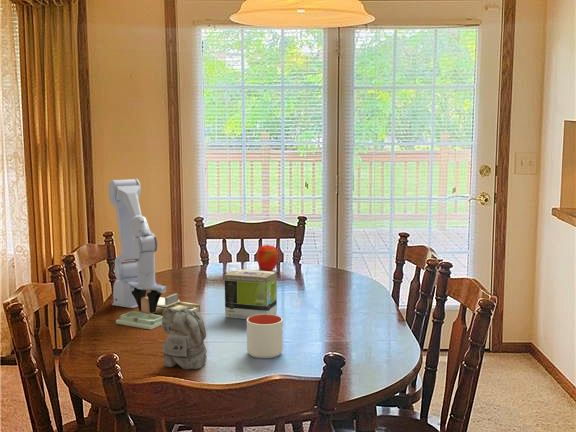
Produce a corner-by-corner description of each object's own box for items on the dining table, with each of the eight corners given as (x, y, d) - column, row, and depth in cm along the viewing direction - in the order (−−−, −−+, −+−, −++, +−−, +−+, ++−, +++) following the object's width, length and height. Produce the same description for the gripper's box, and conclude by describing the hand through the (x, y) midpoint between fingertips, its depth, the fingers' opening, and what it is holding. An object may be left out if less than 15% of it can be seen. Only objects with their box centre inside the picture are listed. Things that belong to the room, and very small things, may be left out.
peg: (138, 316, 228) (138, 298, 228) (146, 313, 232) (146, 296, 231) (148, 318, 227) (148, 300, 226) (156, 314, 230) (155, 297, 229)
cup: (246, 348, 198) (246, 314, 196) (281, 347, 198) (281, 313, 197) (247, 360, 188) (247, 325, 186) (284, 359, 189) (284, 324, 187)
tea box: (277, 313, 232) (277, 270, 230) (266, 322, 222) (266, 277, 220) (236, 309, 237) (235, 267, 234) (224, 317, 227) (223, 274, 225)
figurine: (174, 355, 191) (173, 303, 189) (211, 359, 188) (211, 306, 186) (157, 368, 182) (155, 313, 180) (196, 373, 179) (195, 317, 176)
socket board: (115, 323, 221) (115, 316, 220) (134, 316, 229) (134, 309, 228) (150, 329, 214) (150, 322, 214) (168, 321, 222) (168, 315, 222)
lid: (143, 303, 236) (142, 295, 236) (157, 298, 243) (157, 289, 243) (165, 307, 232) (165, 298, 231) (180, 301, 239) (179, 293, 238)
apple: (257, 273, 290) (257, 245, 288) (256, 269, 298) (255, 241, 297) (279, 273, 290) (279, 245, 289) (277, 268, 299) (277, 241, 298)
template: (142, 310, 235) (142, 305, 235) (160, 303, 244) (160, 298, 244) (183, 317, 228) (182, 311, 227) (200, 309, 236) (200, 304, 236)
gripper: (120, 271, 227) (122, 311, 229) (156, 276, 220) (157, 317, 222) (135, 267, 233) (136, 306, 235) (169, 271, 226) (170, 312, 228)
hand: (147, 311), depth 229 cm, fingers closed on peg, 4 cm apart
